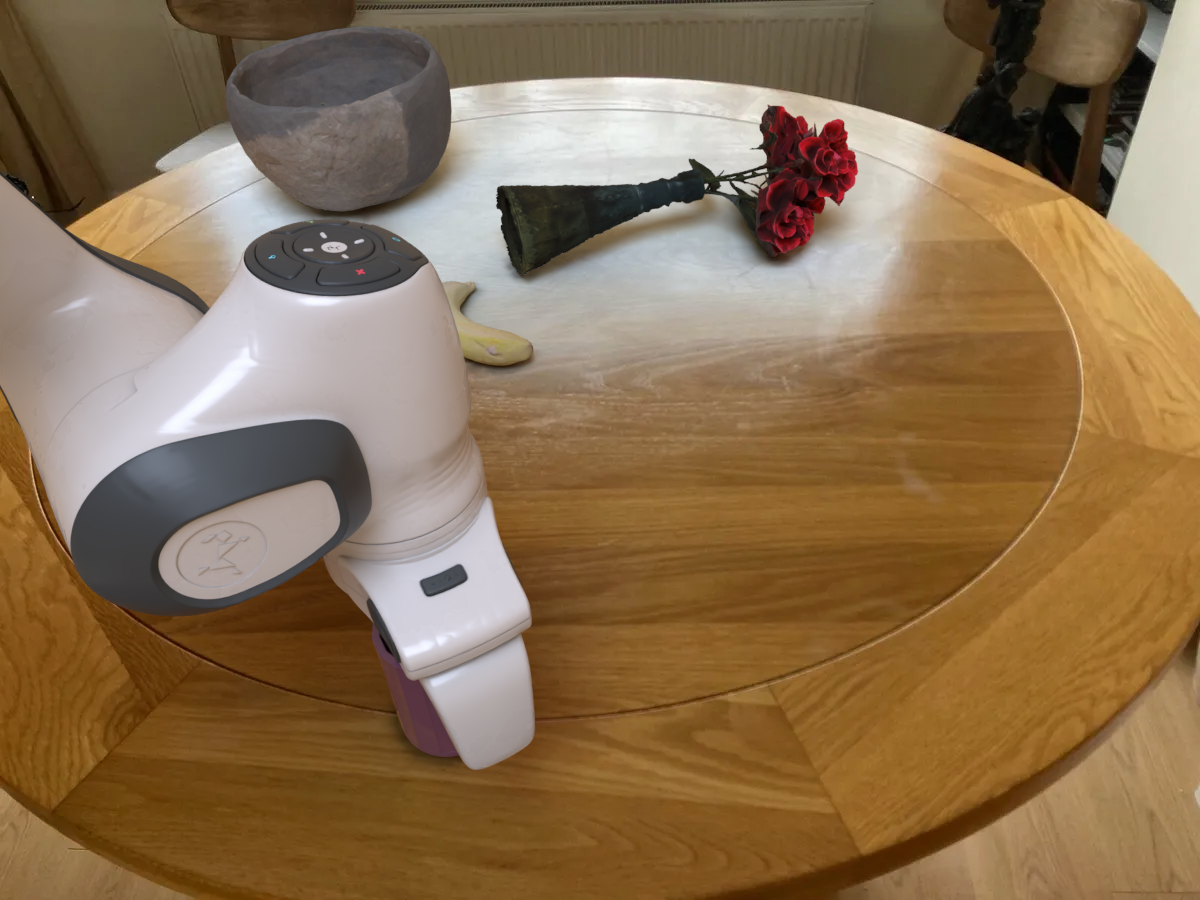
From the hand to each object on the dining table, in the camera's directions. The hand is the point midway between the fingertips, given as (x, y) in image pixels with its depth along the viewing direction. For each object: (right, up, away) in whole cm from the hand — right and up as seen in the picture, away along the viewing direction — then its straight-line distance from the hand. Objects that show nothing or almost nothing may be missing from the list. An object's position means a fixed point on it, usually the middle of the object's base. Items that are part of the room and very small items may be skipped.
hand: (445, 675), depth 58 cm
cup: (0, -3, +2) cm, 4 cm away
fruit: (-2, +25, +33) cm, 41 cm away
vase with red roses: (+17, +35, +43) cm, 58 cm away
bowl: (-19, +45, +56) cm, 74 cm away
